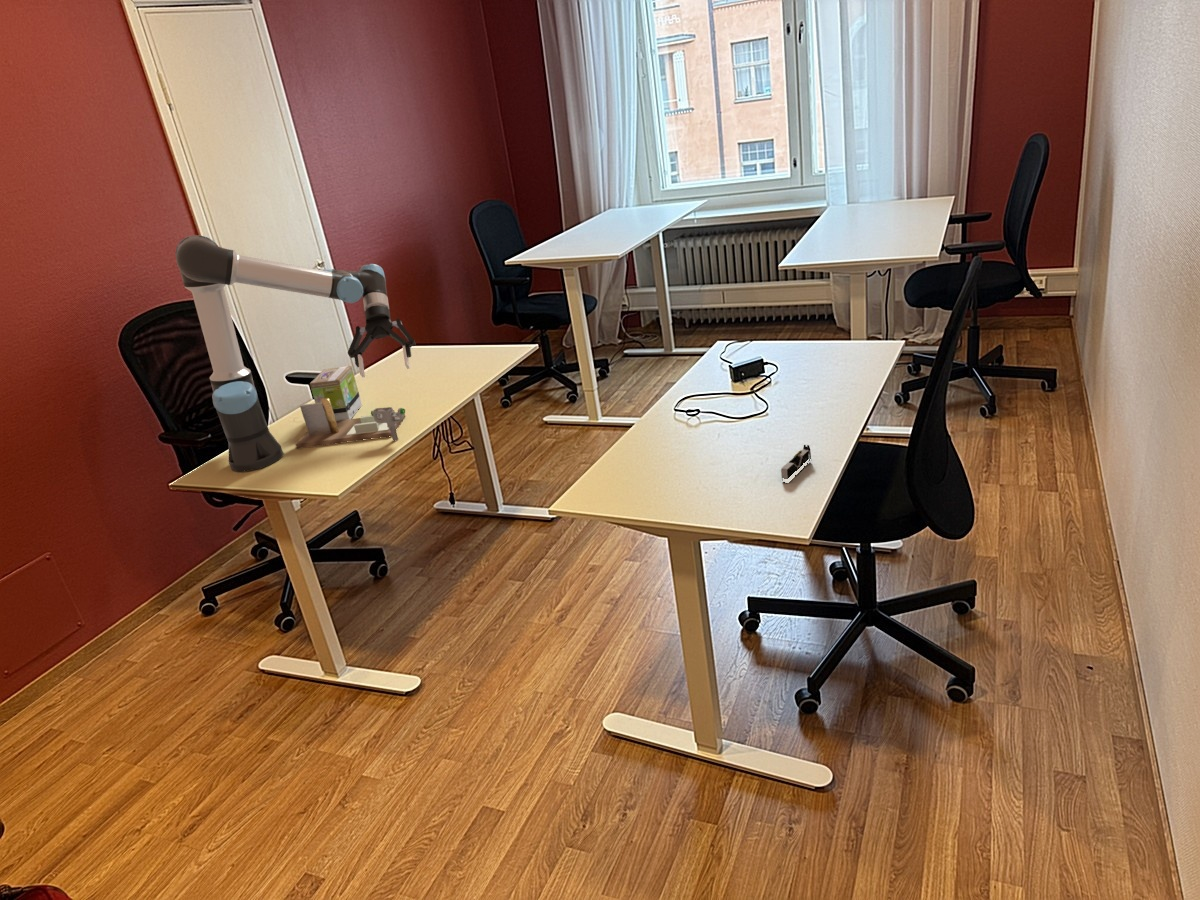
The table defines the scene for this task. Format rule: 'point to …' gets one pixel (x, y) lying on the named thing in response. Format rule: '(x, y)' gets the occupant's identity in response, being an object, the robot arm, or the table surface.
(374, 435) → the board
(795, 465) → the graphics card
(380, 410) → the mechanical component
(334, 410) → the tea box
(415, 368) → the table surface
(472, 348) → the table surface
